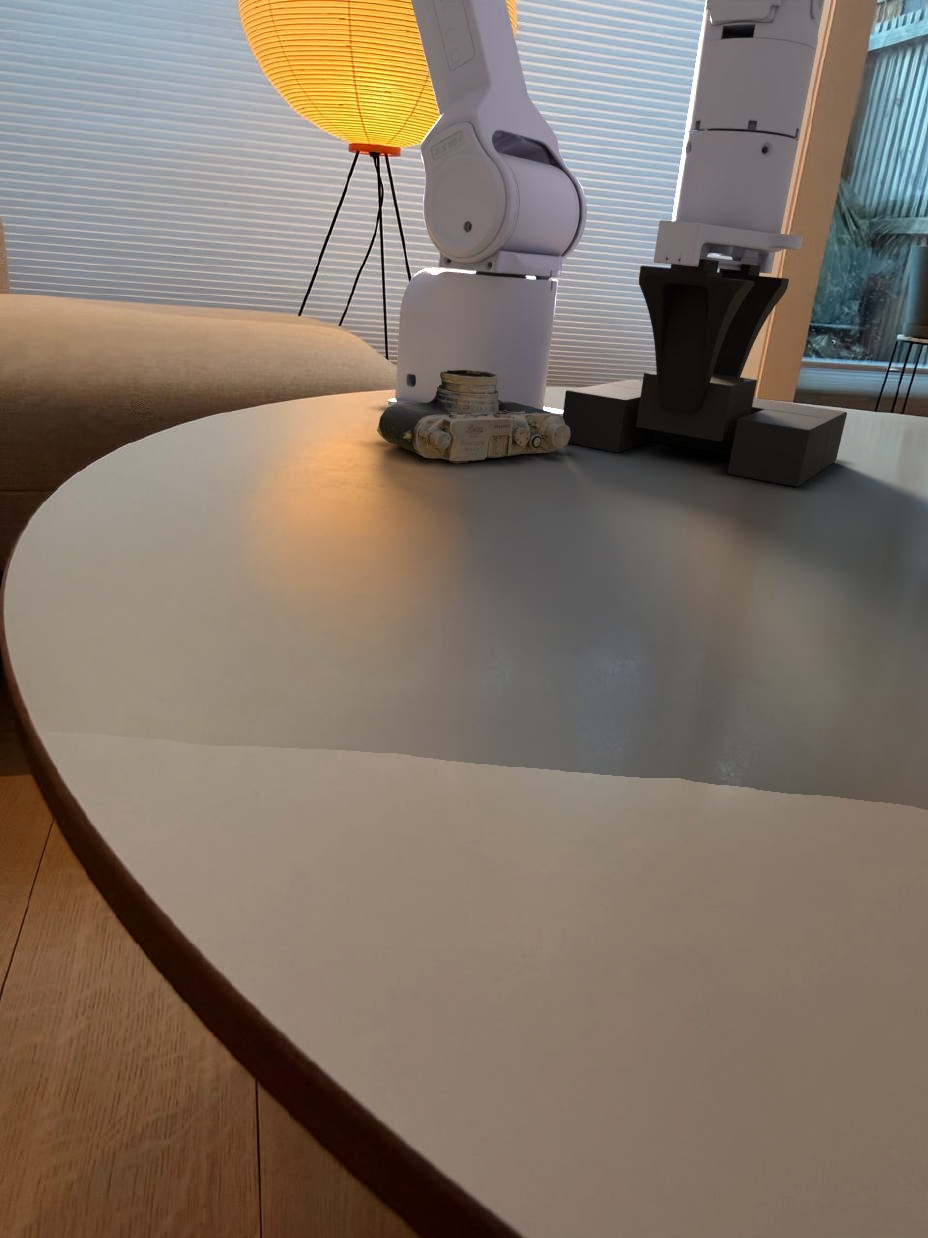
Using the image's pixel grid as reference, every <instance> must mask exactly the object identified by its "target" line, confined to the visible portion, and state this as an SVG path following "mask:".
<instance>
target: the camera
mask: <svg viewBox="0 0 928 1238" xmlns="http://www.w3.org/2000/svg"><path fill="white" fill-rule="evenodd" d="M440 377H441V385H439V387H437V392H436V395H435V397H434V399H433V400H431V401H430V402H425V403H412V402H401V403H395V404H393V405H392V406H390V407H389V406H387V408H385V410H384V411H383V412H382V413H381V415H380V416H379V422H378V425H377V428H376V432H377V433H378V435H380V437H381V438H382V439H383V440H385V441H386V442H388V443H389V444H393V445H396V446H397V447H401V448H402V449H405V450H407V451H410V452H412V453H413V454H416V455H418V456H421V457H423V458H426V459H442V460H444V461H446V462H448V463H452V464H465V463H469V462H470V461H485V459H486V458H491V459H492V458H493V459H494V458H503V457H510V456H511V457H512V456H517V455H523V454H545V453H552V452H554V451H557V450H558V449H561V448H565V447H566V446H567V445H568V444H569V443H568V441H569V439H570V435H571V434H570V427H568V426H567V425H565V421H564V418H563V417H562V416H561V415H559V414H557V413H552V412H549V411H545V410H542V409H538V408H534V407H531V406H526V405H523V404H519V403H516V402H512V401H504V402H502V401H500V400H499V397H498V395H499V392H498V391H496V386H497V380H498V378H497V375H496V374H491V373H489V372H482V371H472V370H453V371H451V370H448V371H447V372H446V371H441V374H440Z"/></svg>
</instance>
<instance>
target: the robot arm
mask: <svg viewBox="0 0 928 1238" xmlns="http://www.w3.org/2000/svg"><path fill="white" fill-rule="evenodd" d="M410 2H411V6H412V10H413V14H414V19H415V23H416V26H417V30H418V34H419V38H420V42H421V47H422V51H423V54H424V58H425V62H426V67H427V70H428V74H429V78H430V82H431V87H432V90H433V95H434V99H435V103H436V106H437V111H438V115H439V118H438V119H437V120H436V122H435V124H433V126H432V127H431V128H430V130H429V131H428V132H427V134H426V135H425V136H424V137H423V139H422V141H421V143H420V144H419V151H420V155H421V161H422V164H423V169H424V190H423V198H422V214H423V215H422V216H423V223H424V226H425V229H426V232H427V235H428V238H429V239H430V241H431V243H432V245H433V246H434V247H435V249H436V250H437V251H438V252H439V253H438V267H439V268H437V267H436V268H435V267H432V268H431V267H430V268H424V269H422V270H420V271H418V272H417V273H416V274H413V276H412V277H411V278H410V280H409V282H408V283H407V285H406V288H405V291H404V293H403V297H402V299H401V304H400V309H399V321H398V322H399V323H398V338H397V339H398V341H397V342H398V343H397V344H398V345H397V357H396V358H397V359H396V377H395V378H396V379H395V392H394V393H395V394H394V398H391V399H388V400H387V407H390V406H392V405H393V404H395V403H401V402H412V403H425V402H430V401H431V400H433V399H434V397H435V395H436V392H437V387H439V385H441V377H440V374H441V371H446V372H447V371H448V370H451V371H453V370H472V371H482V372H489V373H491V374H496V375H497V378H498V380H497V386H496V391H498V392H499V395H498V397H499V400H500V401H502V402H504V401H512V402H516V403H519V404H523V405H526V406H531V407H534V408H538V409H542V410H545V411H549V412H552V413H557V414H559V415H561V416H562V417H563V410H564V409H558V408H551V407H545V400H546V392H547V383H548V373H549V364H550V356H551V349H552V339H553V330H554V322H555V314H556V303H557V295H558V285H559V280H558V279H554V278H560V277H561V276H562V269H563V262H564V261H565V259H567V258H569V257H570V255H572V253H573V252H574V251H575V249H576V248H577V247H578V245H579V243H580V241H581V239H582V237H583V234H584V231H585V228H586V223H587V213H588V208H587V200H586V195H585V191H584V188H583V185H582V184H581V183H580V181H579V179H578V178H577V177H576V175H575V174H574V173H573V172H572V171H571V169H570V168H569V167H568V166H567V164H566V162H565V160H564V159H563V156H562V152H561V149H560V144H559V140H558V137H557V135H556V133H555V132H554V130H553V129H552V127H551V126H550V125H549V123H548V122H547V120H546V119H545V117H544V116H543V115H542V113H541V112H540V111H539V109H538V108H537V107H536V105H535V104H534V102H533V100H532V99H531V98H530V96H529V93H528V89H527V84H526V79H525V76H524V71H523V67H522V64H521V63H522V62H521V59H520V55H519V51H518V46H517V42H516V38H515V33H514V29H513V25H512V20H511V16H510V12H509V8H508V4H507V0H410ZM704 5H705V6H704V13H703V18H702V19H703V20H702V24H701V31H700V36H699V42H698V49H697V56H696V62H695V68H694V75H693V81H692V89H691V94H690V101H689V108H688V114H687V120H686V127H685V135H684V140H683V147H682V153H681V158H680V159H681V160H680V166H679V171H678V172H679V174H678V179H677V185H676V190H675V192H676V193H675V198H674V204H673V205H674V206H673V212H672V218H671V220H663V219H660V220H659V223H658V229H657V236H656V242H655V249H654V256H653V263H654V264H663V265H670V267H661V266H652V265H640V267H639V270H638V271H639V272H638V285H639V287H640V290H641V293H642V295H643V299H644V302H645V304H646V307H647V311H648V315H649V319H650V325H651V329H652V335H653V342H654V343H653V344H654V355H655V369H656V370H655V371H656V372H657V388H658V399H659V406H660V407H662V408H668V409H674V410H680V411H686V412H693V413H695V412H698V411H699V409H700V407H701V405H702V403H703V400H704V398H705V395H706V393H707V390H708V387H709V384H710V381H711V378H712V374H713V373H714V374H721V375H728V376H735V377H742V373H743V371H744V368H745V366H746V364H747V360H748V358H749V356H750V354H751V351H752V349H753V346H754V344H755V342H756V339H757V337H758V336H759V333H760V332H761V330H762V328H763V326H764V324H765V323H766V321H767V320H768V317H769V316H770V314H771V313H772V312H773V310H774V309H775V308H776V306H777V304H778V303H779V302H780V300H781V299H782V298H783V296H784V295H785V293H786V292H787V289H788V287H789V281H790V279H789V278H786V277H775V276H764V275H760V274H769V275H771V274H772V272H773V267H774V261H775V256H776V253H779V252H781V251H782V250H788V251H789V250H791V251H801V250H802V247H803V242H804V236H801V235H797V234H789V233H782V230H783V229H782V228H783V224H784V218H785V213H786V208H787V204H788V203H787V202H788V199H789V192H790V187H791V181H792V177H793V172H794V166H795V161H796V156H797V152H798V145H799V140H800V136H801V131H802V127H803V120H804V116H805V111H806V106H807V102H808V101H807V100H808V94H809V91H810V90H809V89H810V84H811V79H812V74H813V69H814V65H815V59H816V54H817V49H818V44H819V43H818V42H819V31H820V26H821V22H822V16H823V12H824V11H823V10H824V5H825V0H705V4H704ZM709 254H711V255H712V256H718V257H719V256H720V257H730V258H731V259H728V258H727V259H726V258H717V257H711V256H709ZM445 268H447V269H445Z"/></svg>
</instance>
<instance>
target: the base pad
mask: <svg viewBox="0 0 928 1238" xmlns="http://www.w3.org/2000/svg"><path fill="white" fill-rule="evenodd" d="M642 383H643V380H639V379H633V378H630V379H623V380H619V381H618V380H617V381H613V382H607V383H601V384H594V385H588V386H583V387H579V388H578V387H577V388H572V389H566V390H565V394H564V402H563V409H562V410H563V418H564V421H565V425H567V426H568V427H570V434H571V435H570V439H569V441H568V444H572V445H577V446H581V447H586V448H587V447H588V448H592V449H597V450H602V451H608V452H613V453H621V452H624V451H627V450H630V449H633V448H636V447H639V446H642V445H645V444H648V443H651V442H656V443H661V444H667V445H672V446H677V447H682V448H688V449H694V450H699V451H704V452H709V453H710V452H711V453H716V454H721V455H727V456H730V457H729V463H728V467H727V474H728V475H731V476H737V477H743V478H747V479H752V480H758V481H762V482H769V483H774V484H779V485H784V486H787V487H788V486H789V487H794V488H799V486H801V485H803V484H804V483H806V482H807V481H809V480H810V479H812V478H813V477H814V476H816V475H817V474H819V473H820V472H821V471H823V470H824V469H826V468H827V467H829V466H830V465H832V464H833V463H835V462H837V458H838V454H839V450H840V446H841V442H842V437H843V433H844V428H845V424H846V420H847V415H848V412H847V411H842V410H837V409H829V408H823V407H817V406H810V405H804V404H796V403H790V402H784V401H777V400H772V399H765V398H758V397H754V399H753V404H752V410H751V414H750V415H748V416H745V417H742V418H739V419H738V420H737V425H736V430H735V435H734V437H732V438H730V439H727V440H725V441H722V442H718V441H713V440H707V439H701V438H696V437H690V436H684V435H679V434H673V433H667V432H662V431H656V430H650V429H644V428H639V427H636V423H637V416H638V409H639V403H640V396H641V390H642Z"/></svg>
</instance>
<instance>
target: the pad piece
mask: <svg viewBox="0 0 928 1238" xmlns="http://www.w3.org/2000/svg"><path fill="white" fill-rule="evenodd" d="M642 377H643V378H642V381H643V383H642V390H641V396H640V403H639V409H638V416H637V423H636V427H639V428H644V429H650V430H656V431H662V432H667V433H673V434H679V435H684V436H690V437H696V438H701V439H707V440H713V441H718V442H722V441H725V440H727V439H730V438H732V437H734V435H735V430H736V425H737V420H738V419H739V418H742V417H745V416H748V415H750V414H751V410H752V404H753V399H754V398H755V394H756V388H757V383H758V379H755V378H749V377H748V378H747V377H742V376H740V377H735V376H728V375H721V374H714V373H713V374H712V378H711V381H710V384H709V387H708V390H707V393H706V395H705V398H704V400H703V403H702V405H701V407H700V409H699V411H698V412H695V413H693V412H686V411H680V410H674V409H668V408H662V407H660V406H659V399H658V388H657V372H656V370H655V371H649V372H644V373H643V376H642Z"/></svg>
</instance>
